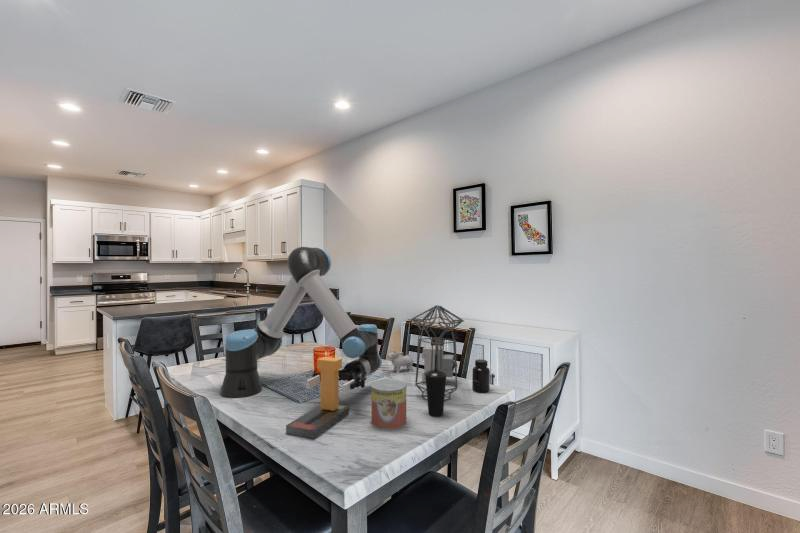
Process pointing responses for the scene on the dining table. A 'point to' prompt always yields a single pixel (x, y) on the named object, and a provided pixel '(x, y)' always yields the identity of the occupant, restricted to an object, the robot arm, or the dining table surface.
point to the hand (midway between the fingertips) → (325, 387)
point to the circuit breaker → (447, 361)
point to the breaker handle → (329, 382)
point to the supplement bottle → (481, 377)
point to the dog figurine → (400, 360)
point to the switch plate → (316, 422)
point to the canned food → (388, 404)
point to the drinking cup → (435, 390)
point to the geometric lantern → (436, 341)
